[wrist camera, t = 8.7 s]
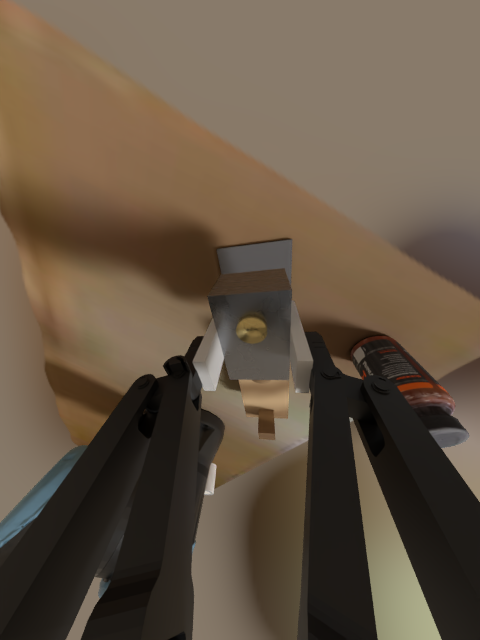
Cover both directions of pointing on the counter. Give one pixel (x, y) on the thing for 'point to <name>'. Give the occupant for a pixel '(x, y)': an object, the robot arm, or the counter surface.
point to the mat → (256, 257)
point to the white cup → (210, 480)
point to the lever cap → (253, 323)
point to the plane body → (265, 403)
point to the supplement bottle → (411, 386)
